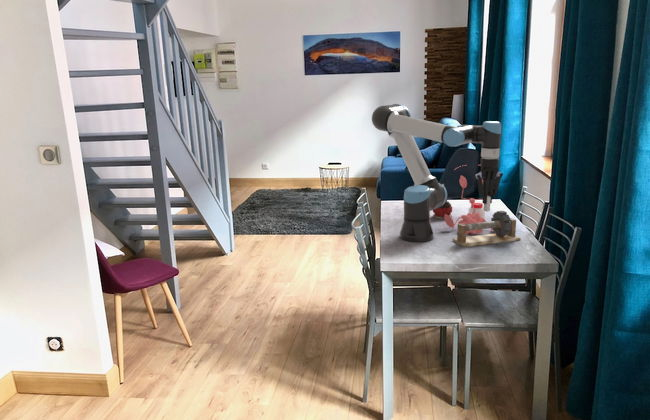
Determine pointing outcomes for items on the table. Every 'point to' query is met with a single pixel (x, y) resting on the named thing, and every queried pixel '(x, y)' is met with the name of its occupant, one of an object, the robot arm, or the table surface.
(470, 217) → the figurine
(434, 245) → the table surface
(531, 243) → the table surface
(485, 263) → the table surface
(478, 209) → the pill bottle
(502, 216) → the square-toothed gear
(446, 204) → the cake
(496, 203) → the table surface
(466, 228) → the pipe rig
